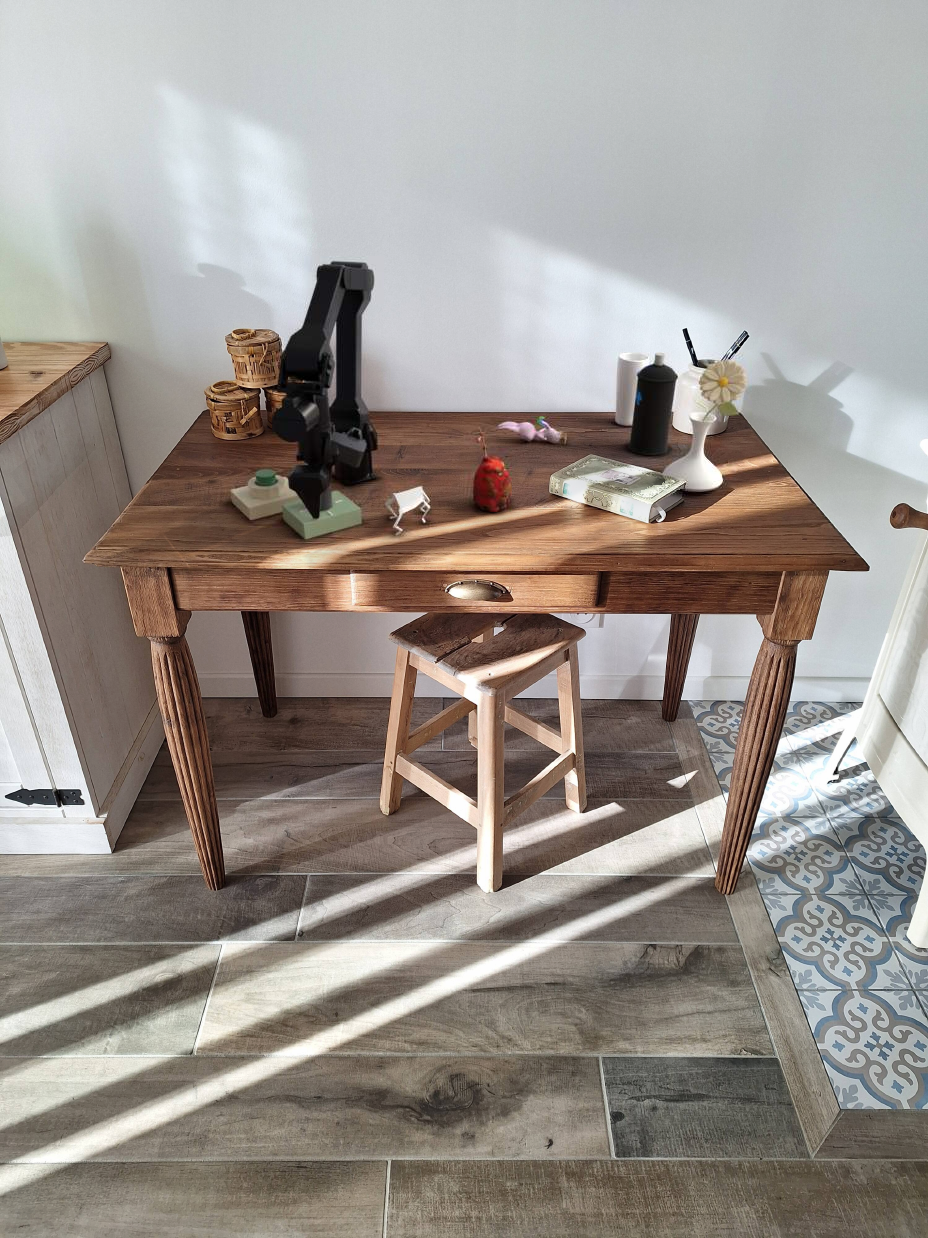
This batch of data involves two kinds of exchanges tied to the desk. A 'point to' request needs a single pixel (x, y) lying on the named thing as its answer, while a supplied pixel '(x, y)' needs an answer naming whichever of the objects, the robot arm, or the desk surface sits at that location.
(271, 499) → the button base
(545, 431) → the rabbit figure
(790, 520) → the desk surface
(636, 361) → the white cylindrical vase
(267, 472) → the green button cap
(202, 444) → the desk surface
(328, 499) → the dial
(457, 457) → the desk surface
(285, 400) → the robot arm
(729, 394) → the flower in vase
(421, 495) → the white block with legs
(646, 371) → the aerosol can
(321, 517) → the console
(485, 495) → the red clay folk toy
